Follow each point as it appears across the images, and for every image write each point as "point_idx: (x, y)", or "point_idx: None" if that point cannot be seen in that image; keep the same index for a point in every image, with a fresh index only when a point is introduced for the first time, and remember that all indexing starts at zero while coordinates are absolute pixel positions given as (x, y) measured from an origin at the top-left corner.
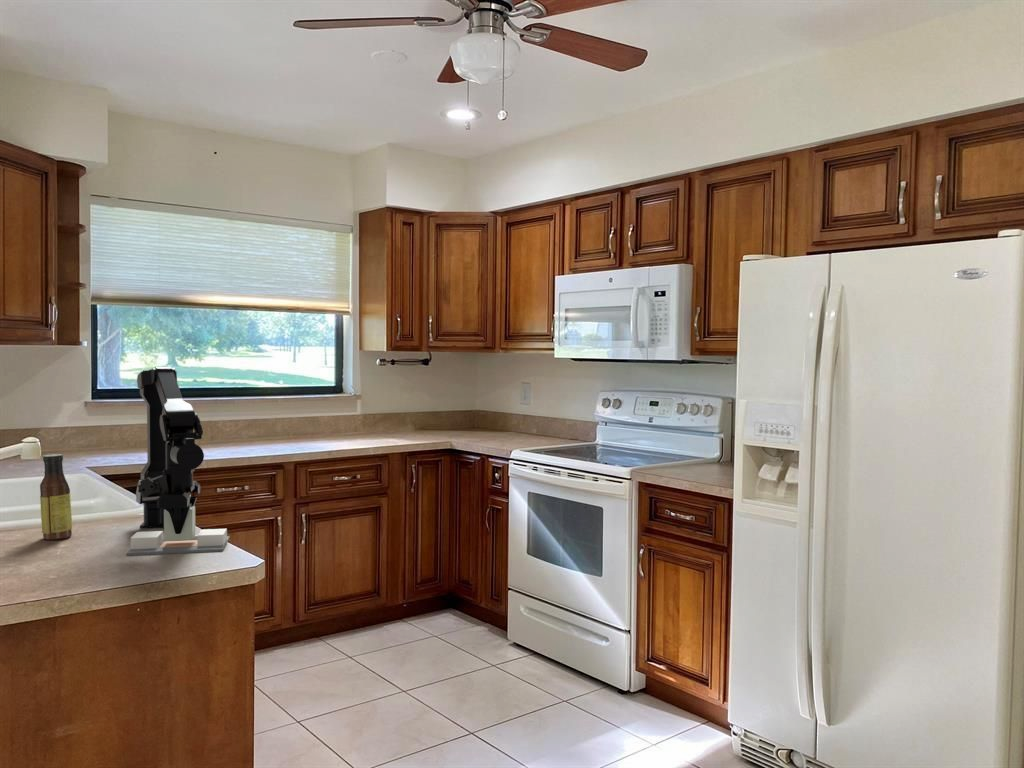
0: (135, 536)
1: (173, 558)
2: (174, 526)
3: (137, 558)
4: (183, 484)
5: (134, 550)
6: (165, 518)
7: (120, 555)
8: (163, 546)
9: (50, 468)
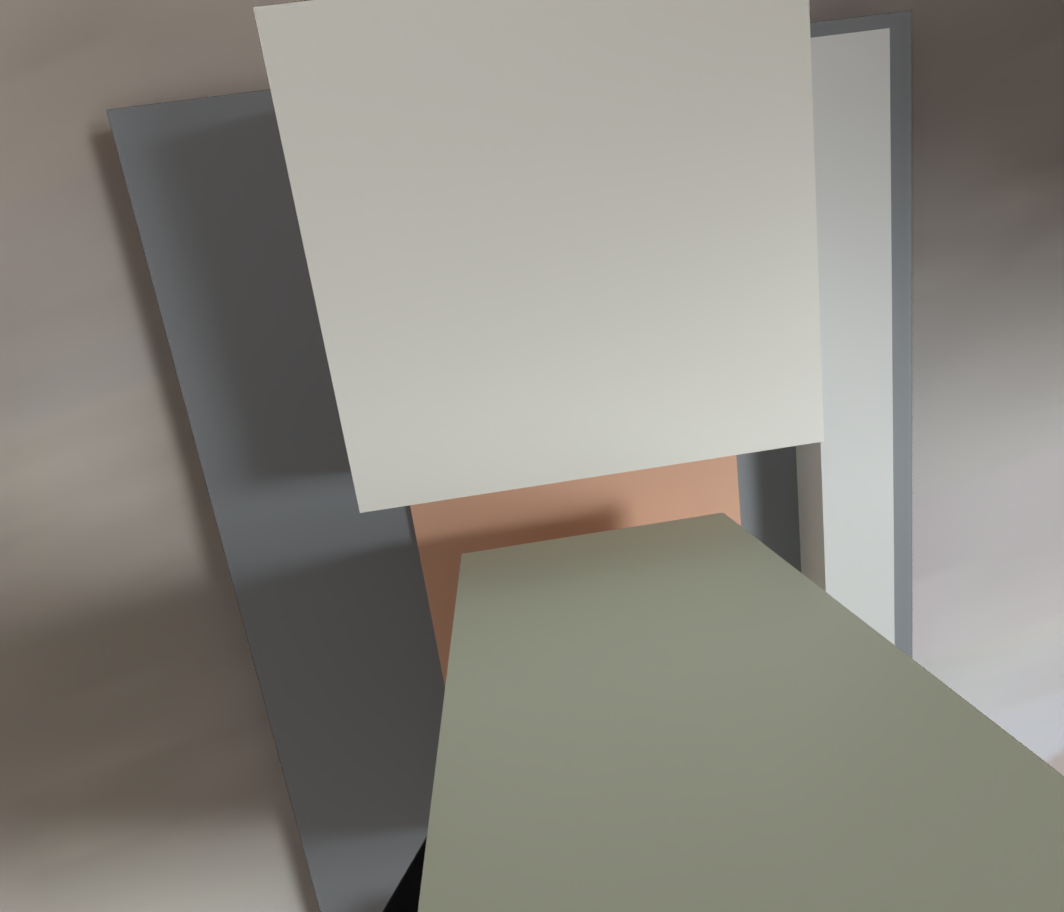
0: (406, 63)
1: (59, 755)
2: (400, 906)
3: (3, 342)
4: None
5: (247, 189)
6: (434, 880)
7: (136, 29)
8: (457, 520)
9: None
